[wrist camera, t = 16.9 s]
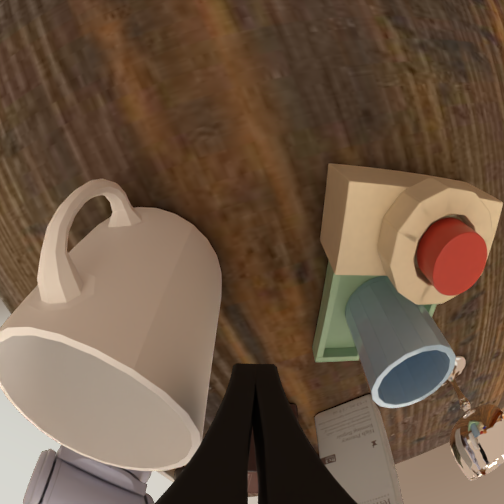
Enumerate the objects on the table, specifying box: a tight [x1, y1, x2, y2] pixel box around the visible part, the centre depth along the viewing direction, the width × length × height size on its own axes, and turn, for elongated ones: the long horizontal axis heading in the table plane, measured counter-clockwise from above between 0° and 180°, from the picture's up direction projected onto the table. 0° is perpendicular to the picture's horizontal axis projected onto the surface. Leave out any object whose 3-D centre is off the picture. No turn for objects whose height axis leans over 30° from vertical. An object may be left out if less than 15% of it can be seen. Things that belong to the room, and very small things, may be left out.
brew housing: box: [320, 163, 503, 305], centre depth 15 cm, size 6×10×6 cm, turn 88°
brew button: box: [417, 217, 487, 296], centre depth 12 cm, size 3×3×2 cm
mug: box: [0, 179, 222, 471], centre depth 14 cm, size 10×12×12 cm
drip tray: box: [312, 260, 437, 362], centre depth 21 cm, size 8×8×2 cm
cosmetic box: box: [315, 394, 404, 504], centre depth 22 cm, size 6×4×12 cm
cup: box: [345, 276, 456, 408], centre depth 18 cm, size 5×5×7 cm
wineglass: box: [441, 356, 504, 481], centre depth 20 cm, size 6×6×12 cm
